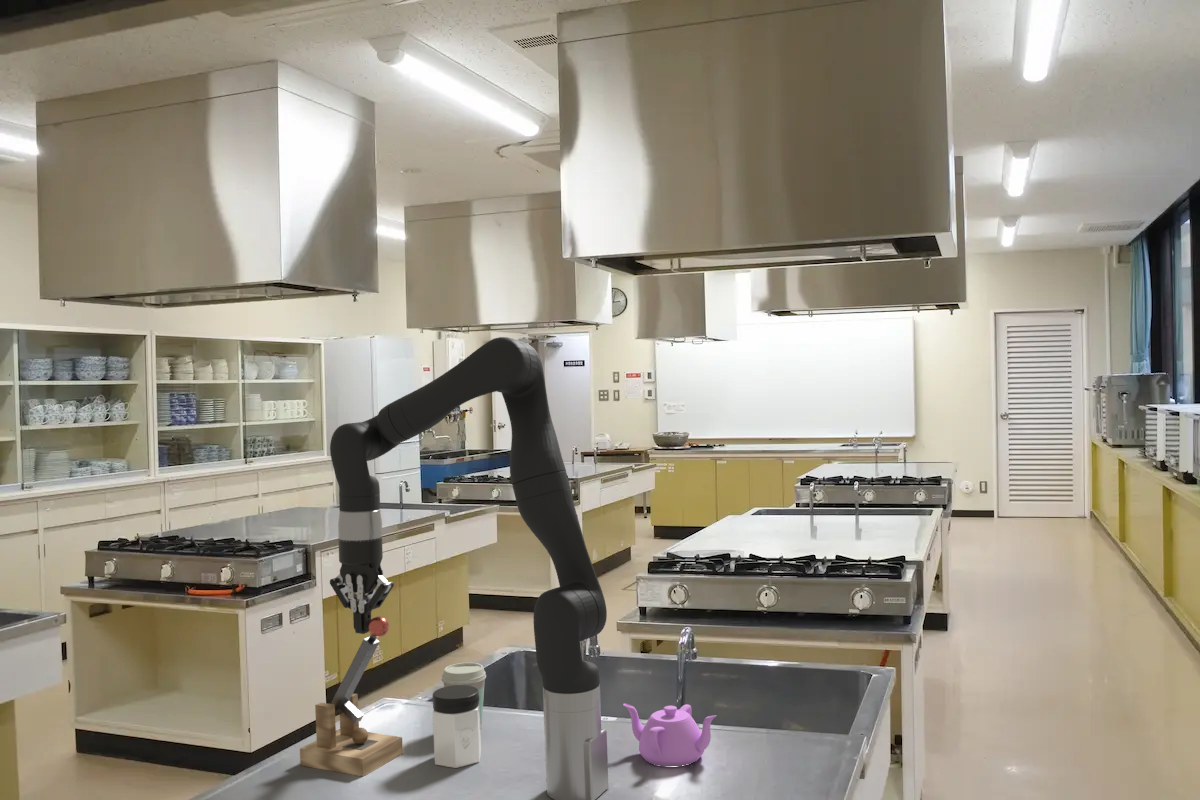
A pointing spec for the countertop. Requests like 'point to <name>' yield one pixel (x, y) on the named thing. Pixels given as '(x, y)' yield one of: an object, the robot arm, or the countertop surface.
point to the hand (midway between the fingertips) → (362, 632)
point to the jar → (456, 726)
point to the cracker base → (347, 744)
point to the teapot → (671, 736)
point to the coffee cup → (466, 679)
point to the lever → (358, 670)
